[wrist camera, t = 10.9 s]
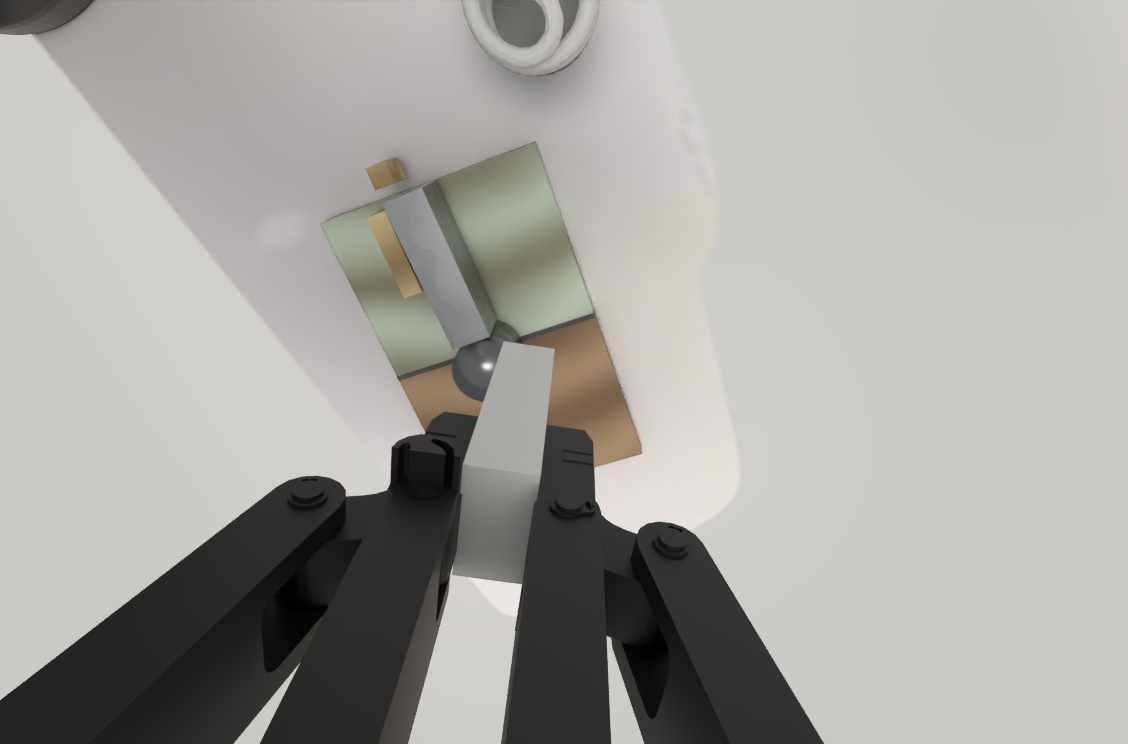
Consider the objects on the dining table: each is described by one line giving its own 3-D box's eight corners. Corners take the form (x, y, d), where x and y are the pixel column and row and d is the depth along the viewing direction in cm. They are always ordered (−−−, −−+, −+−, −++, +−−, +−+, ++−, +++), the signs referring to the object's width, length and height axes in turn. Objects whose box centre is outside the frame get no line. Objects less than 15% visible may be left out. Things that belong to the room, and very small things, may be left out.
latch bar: (532, 365, 40) (528, 390, 37) (477, 383, 41) (468, 410, 37) (449, 174, 35) (435, 182, 32) (388, 199, 36) (368, 209, 32)
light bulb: (608, 56, 34) (623, 35, 23) (517, 97, 35) (489, 95, 24) (572, -56, 32) (568, -139, 21) (475, -9, 33) (423, -65, 22)
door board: (312, 190, 37) (286, 199, 34) (524, 108, 35) (518, 109, 32) (464, 495, 46) (456, 526, 43) (640, 444, 44) (645, 473, 41)
